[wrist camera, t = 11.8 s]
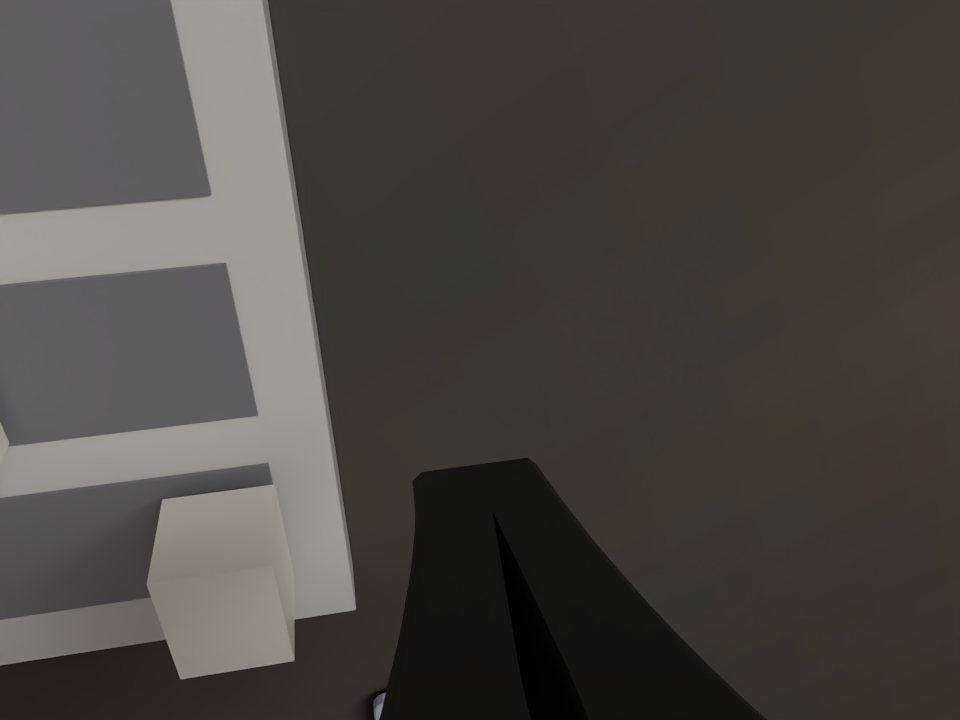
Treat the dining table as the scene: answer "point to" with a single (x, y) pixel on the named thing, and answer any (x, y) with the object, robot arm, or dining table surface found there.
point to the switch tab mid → (3, 443)
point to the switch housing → (149, 311)
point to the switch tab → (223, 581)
